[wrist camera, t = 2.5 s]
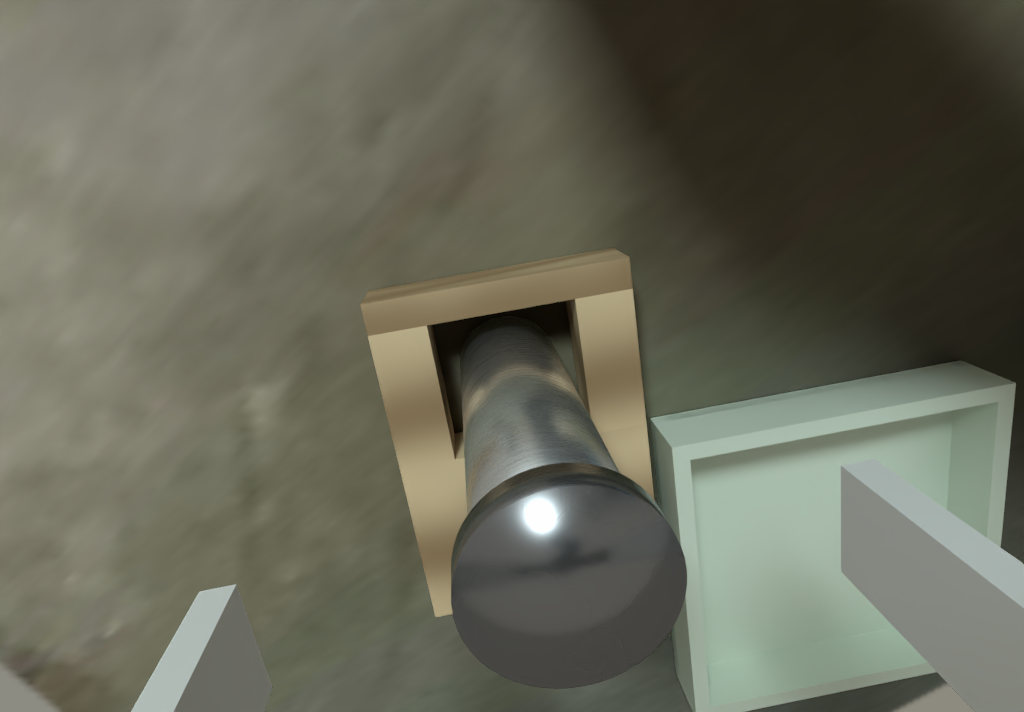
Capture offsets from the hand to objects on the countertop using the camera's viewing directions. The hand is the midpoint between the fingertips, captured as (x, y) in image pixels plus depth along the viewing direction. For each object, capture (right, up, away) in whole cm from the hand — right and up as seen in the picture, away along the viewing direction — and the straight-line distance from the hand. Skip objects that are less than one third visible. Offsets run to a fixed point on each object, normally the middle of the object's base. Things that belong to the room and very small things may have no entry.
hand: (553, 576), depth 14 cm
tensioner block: (-1, +2, +14) cm, 14 cm away
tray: (+13, -3, +17) cm, 22 cm away
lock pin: (-1, +5, +13) cm, 14 cm away
